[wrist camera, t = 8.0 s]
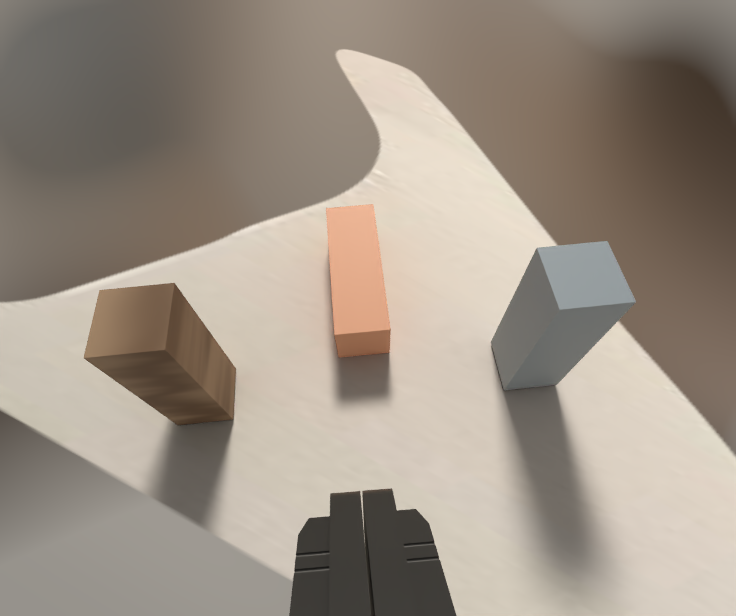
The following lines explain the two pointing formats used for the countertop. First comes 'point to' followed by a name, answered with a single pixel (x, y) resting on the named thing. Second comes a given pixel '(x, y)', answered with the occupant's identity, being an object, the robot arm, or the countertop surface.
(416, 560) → the robot arm
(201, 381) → the walnut pillar
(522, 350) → the slate pillar
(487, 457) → the countertop surface
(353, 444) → the countertop surface
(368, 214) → the terracotta pillar
